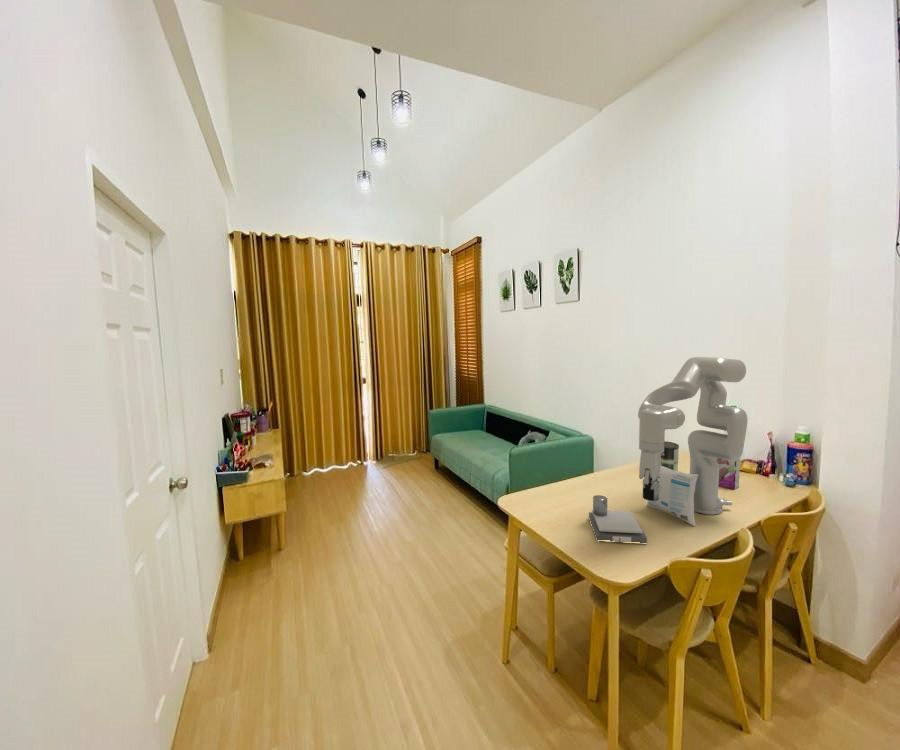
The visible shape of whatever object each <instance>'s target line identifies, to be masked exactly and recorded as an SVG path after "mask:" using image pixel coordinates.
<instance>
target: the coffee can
mask: <svg viewBox="0 0 900 750" xmlns="http://www.w3.org/2000/svg"><path fill="white" fill-rule="evenodd" d="M679 447H680V444H677V443H675V442H672V441H666V440H664V452H662V453H661V466H664V467H666V468H669V469H671V470H674V471H678V472H679V452H680V451H679Z"/></svg>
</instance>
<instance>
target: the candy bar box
mask: <svg viewBox="0 0 900 750" xmlns="http://www.w3.org/2000/svg"><path fill="white" fill-rule="evenodd" d="M714 458H715V457H714ZM715 459H716V461H717V463H718V465H719V487H723V488H726V489H730V490H734V491H735V490H736V489H738V488H739V487H740V469H741V458H740V459H739V460H737V461H728V460H723V459H719V458H715Z"/></svg>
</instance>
